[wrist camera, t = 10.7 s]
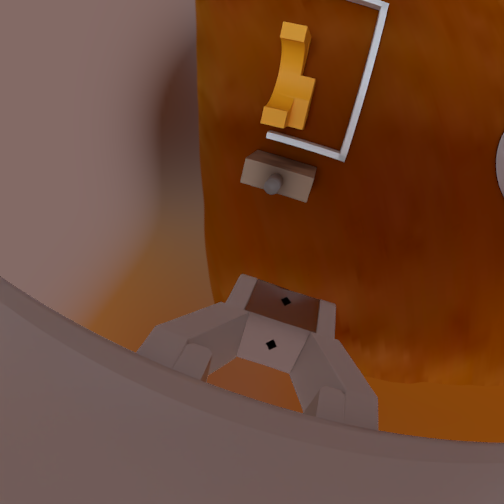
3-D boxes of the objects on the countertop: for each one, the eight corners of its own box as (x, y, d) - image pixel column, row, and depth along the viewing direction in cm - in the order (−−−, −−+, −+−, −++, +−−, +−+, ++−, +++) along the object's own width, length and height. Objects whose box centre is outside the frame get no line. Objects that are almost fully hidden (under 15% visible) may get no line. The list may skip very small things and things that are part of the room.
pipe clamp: (304, 127, 38) (299, 132, 32) (271, 119, 38) (260, 123, 33) (325, 40, 32) (324, 30, 26) (291, 33, 32) (283, 21, 27)
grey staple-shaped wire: (386, 7, 27) (389, 3, 26) (344, 159, 38) (344, 162, 37) (308, -15, 28) (306, -20, 27) (269, 135, 39) (265, 137, 38)
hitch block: (316, 167, 40) (312, 185, 32) (310, 188, 41) (303, 211, 33) (257, 149, 41) (238, 163, 33) (252, 170, 42) (232, 189, 34)
